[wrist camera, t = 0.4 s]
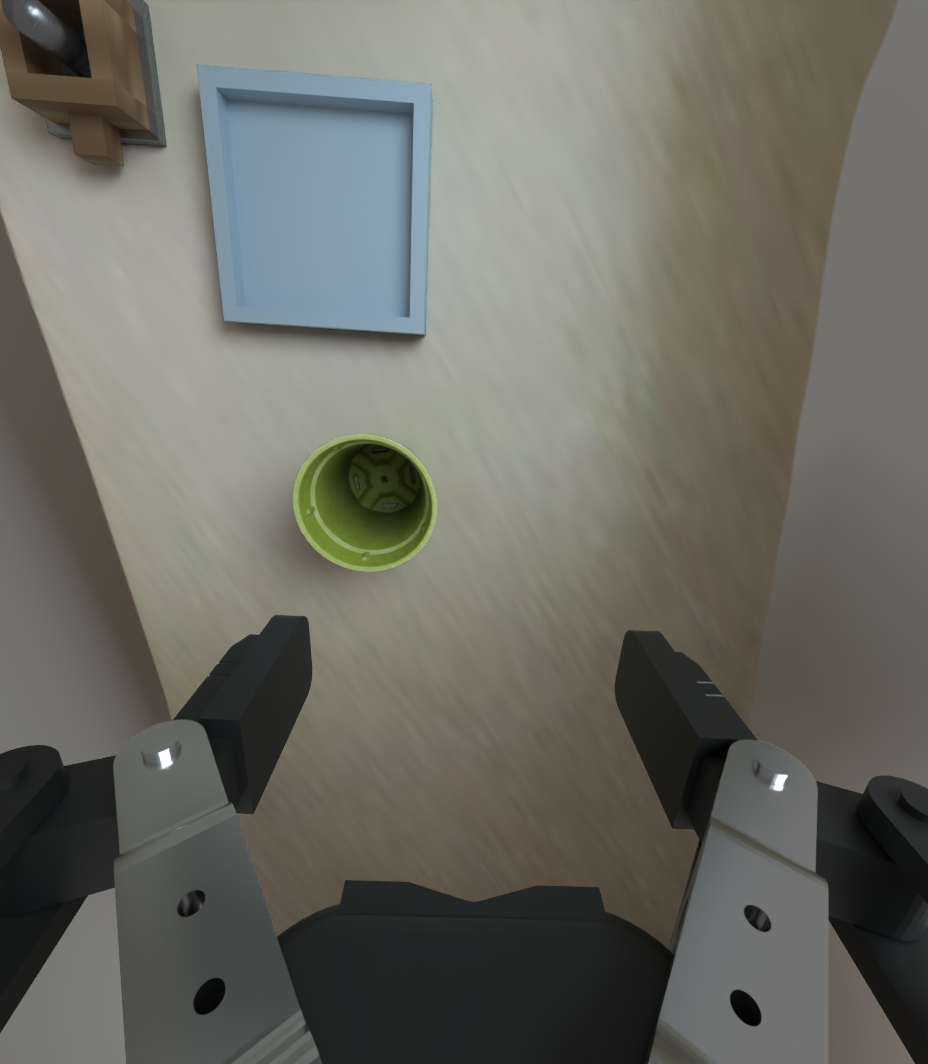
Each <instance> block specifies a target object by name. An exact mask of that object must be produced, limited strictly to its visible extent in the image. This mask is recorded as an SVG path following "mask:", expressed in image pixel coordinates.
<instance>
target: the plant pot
mask: <svg viewBox="0 0 928 1064" xmlns="http://www.w3.org/2000/svg"><path fill="white" fill-rule="evenodd" d="M375 448H387V449H388V452H377V453H372V450H373V449H375ZM410 467H413V468H414V474H415V476H416V481H415V482H414V483H412V478H411V471H410ZM356 474H357V475H358V481H359V486H360V489H361V490H359V489H357V488H356V485H355V481H354V476H355V475H356ZM383 476H385V477H387V482H383V481H382V477H383ZM391 503H398V504H397V505H396V506H394V507H391V508H385V507H382V504H391ZM293 509H294V513H295V517H296V520H297V523H298V526H299V528H300V530H301V532H302V534H303V535H304V537H305V538H306V540H307V541H308V542H309V543H310V545H311V546H312V547H313V548H314V549H315V550H316V551H317V552H318V553H320V554H321V555H322V556H323V557H325V558H326V559H328V560H329V561H331V562H333V563H335V564H337V565H339V566H341V567H344V568H347V569H351V570H355V571H363V572H377V571H383V570H388V569H391V568H394V567H397V566H399V565H401V564H403V563H405V562H406V561H408V560H409V559H411V558H412V557H414V556H415V555H416V554H417V553H418V552H419V551H420V550H421V549H422V548H423V546H424V545H425V544H426V542H427V541H428V539H429V537H430V535H431V533H432V531H433V528H434V525H435V521H436V516H437V499H436V493H435V489H434V485H433V482H432V480H431V478H430V476H429V474H428V472H427V470H426V469H425V467H424V466H423V464H422V463H421V462H420V460H419V459H418V458H417V457H416V456H415V455H414V454H413V453H412V452H410V451H409V450H408V449H407V448H405V447H404V446H402V445H401V444H399V443H397V442H395V441H393V440H391V439H388V438H385V437H382V436H378V435H372V434H352V435H346V436H342V437H339V438H336V439H334V440H331V441H329V442H327V443H325V444H324V445H322V446H320V447H319V448H318V449H316V450H315V451H314V452H313V453H312V454H311V455H310V456H309V457H308V458H307V459H306V461H305V462H304V463H303V465H302V466H301V468H300V470H299V472H298V474H297V477H296V480H295V483H294V488H293Z"/></svg>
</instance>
